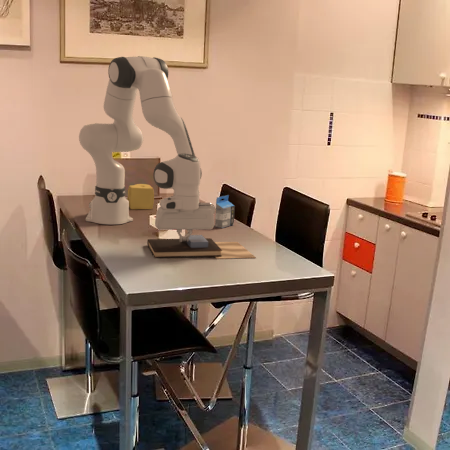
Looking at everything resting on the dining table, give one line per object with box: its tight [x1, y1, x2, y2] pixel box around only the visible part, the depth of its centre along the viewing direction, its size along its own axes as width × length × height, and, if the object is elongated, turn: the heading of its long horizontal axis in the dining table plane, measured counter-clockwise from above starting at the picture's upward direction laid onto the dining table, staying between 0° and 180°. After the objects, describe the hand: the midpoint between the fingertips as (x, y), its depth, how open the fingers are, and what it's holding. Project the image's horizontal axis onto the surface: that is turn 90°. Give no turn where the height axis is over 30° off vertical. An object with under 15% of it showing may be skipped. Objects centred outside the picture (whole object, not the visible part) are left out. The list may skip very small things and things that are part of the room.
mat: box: [214, 241, 256, 260], centre depth 215 cm, size 20×14×1 cm
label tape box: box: [214, 194, 236, 229], centre depth 250 cm, size 9×4×12 cm, turn 146°
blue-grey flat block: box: [184, 234, 208, 248], centre depth 210 cm, size 9×6×2 cm, turn 17°
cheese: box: [126, 183, 155, 210], centre depth 274 cm, size 10×11×10 cm
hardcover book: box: [146, 237, 222, 259], centre depth 209 cm, size 16×23×2 cm
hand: (183, 241), depth 209 cm, fingers closed
